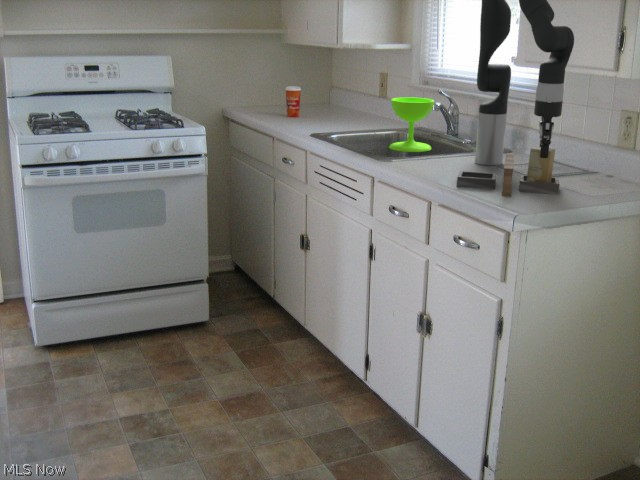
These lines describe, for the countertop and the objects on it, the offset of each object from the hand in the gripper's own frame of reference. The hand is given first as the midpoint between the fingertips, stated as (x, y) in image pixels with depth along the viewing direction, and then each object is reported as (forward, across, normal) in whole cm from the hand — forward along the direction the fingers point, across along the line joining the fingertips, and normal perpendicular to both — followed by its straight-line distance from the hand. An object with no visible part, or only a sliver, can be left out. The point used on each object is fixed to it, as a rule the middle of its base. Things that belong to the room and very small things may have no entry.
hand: (543, 155), depth 215 cm
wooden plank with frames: (+10, 0, -9) cm, 14 cm away
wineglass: (+11, -55, -46) cm, 72 cm away
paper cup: (+12, -121, -111) cm, 164 cm away
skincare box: (+10, 0, 0) cm, 10 cm away
